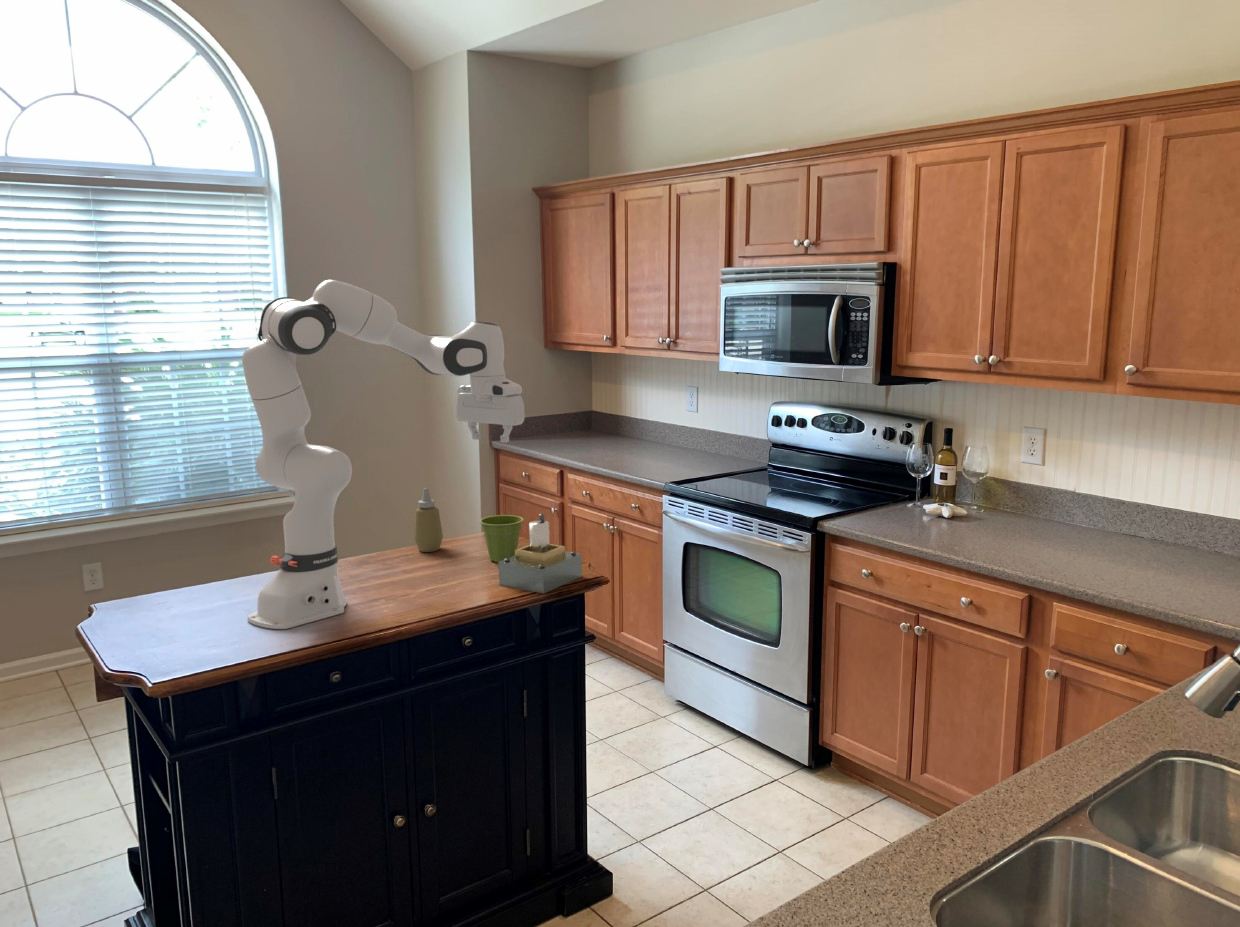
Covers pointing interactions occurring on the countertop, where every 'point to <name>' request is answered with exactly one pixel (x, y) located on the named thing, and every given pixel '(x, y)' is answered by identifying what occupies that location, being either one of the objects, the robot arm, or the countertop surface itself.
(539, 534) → the spout can
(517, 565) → the grey square housing block
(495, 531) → the plant pot
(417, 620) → the countertop surface
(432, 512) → the squeeze bottle
